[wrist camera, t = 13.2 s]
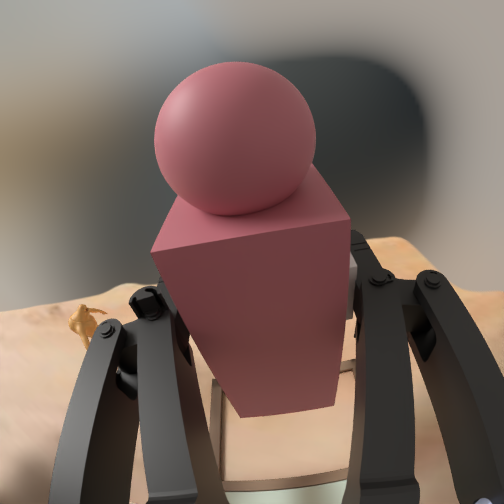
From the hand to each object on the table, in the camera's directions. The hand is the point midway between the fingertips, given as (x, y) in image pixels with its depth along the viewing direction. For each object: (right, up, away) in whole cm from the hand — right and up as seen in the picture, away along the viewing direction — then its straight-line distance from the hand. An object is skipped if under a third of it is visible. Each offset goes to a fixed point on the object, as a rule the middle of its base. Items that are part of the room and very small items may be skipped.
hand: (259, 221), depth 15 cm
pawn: (+1, -9, 0) cm, 9 cm away
